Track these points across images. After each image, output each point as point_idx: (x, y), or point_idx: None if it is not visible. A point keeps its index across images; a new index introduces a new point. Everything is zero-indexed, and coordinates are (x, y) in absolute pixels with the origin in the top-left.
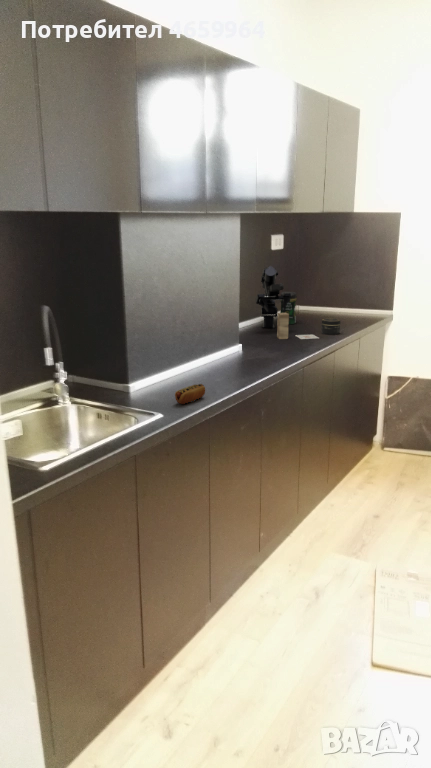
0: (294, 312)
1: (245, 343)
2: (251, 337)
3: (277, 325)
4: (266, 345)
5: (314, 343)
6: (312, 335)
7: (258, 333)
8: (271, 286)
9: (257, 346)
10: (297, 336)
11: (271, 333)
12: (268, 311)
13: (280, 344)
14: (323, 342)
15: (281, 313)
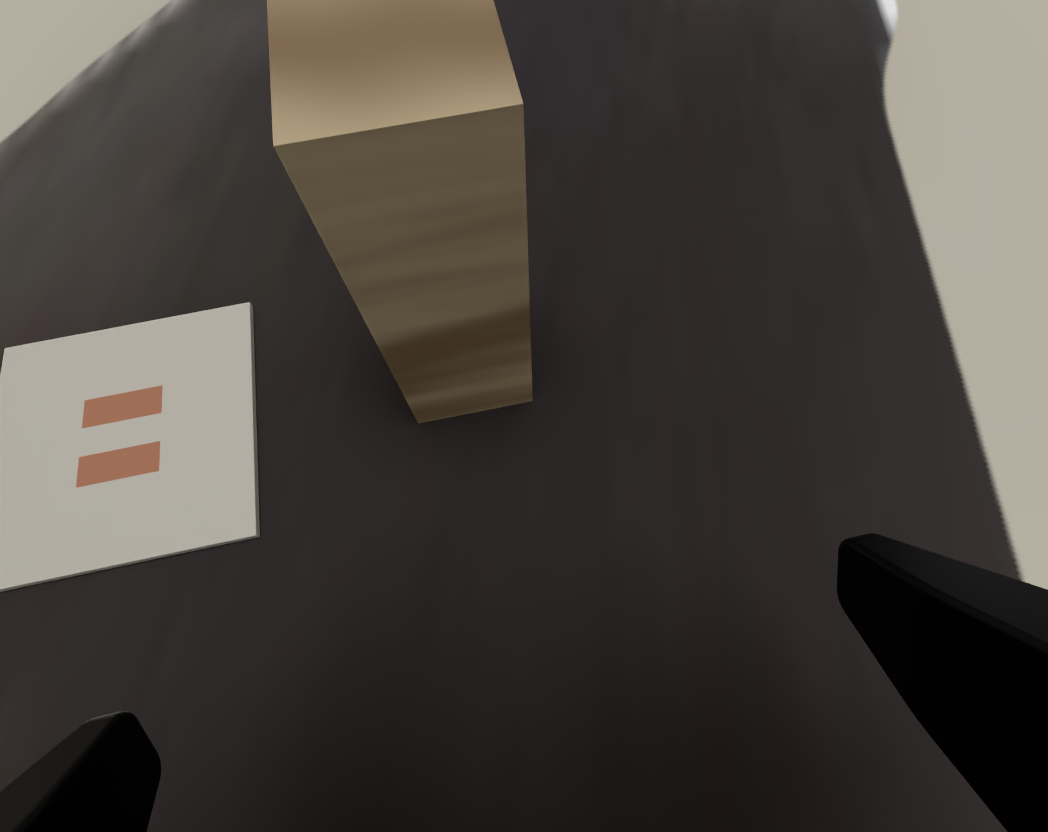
0: None
1: (887, 140)
2: (886, 435)
3: (528, 299)
4: (663, 75)
5: (177, 149)
6: (5, 520)
7: (831, 768)
8: None
9: (746, 44)
10: (243, 452)
11: (598, 763)
12: (838, 566)
13: (525, 110)
14: (66, 187)
15: (427, 56)
